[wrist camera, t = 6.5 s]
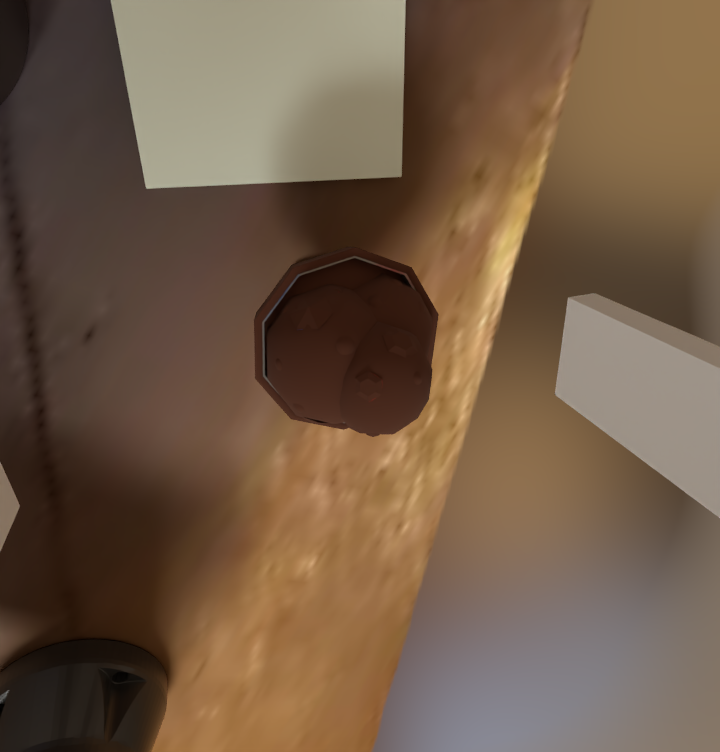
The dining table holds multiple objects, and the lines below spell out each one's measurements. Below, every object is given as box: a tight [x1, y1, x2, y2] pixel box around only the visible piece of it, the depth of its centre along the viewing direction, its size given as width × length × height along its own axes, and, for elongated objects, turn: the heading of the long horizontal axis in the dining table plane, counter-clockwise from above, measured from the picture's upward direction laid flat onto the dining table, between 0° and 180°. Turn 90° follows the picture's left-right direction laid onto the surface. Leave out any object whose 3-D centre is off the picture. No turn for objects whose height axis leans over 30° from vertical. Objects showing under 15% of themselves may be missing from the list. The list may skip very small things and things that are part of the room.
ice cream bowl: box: [254, 247, 438, 437], centre depth 31 cm, size 11×11×15 cm
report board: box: [111, 0, 406, 189], centre depth 30 cm, size 16×13×1 cm
